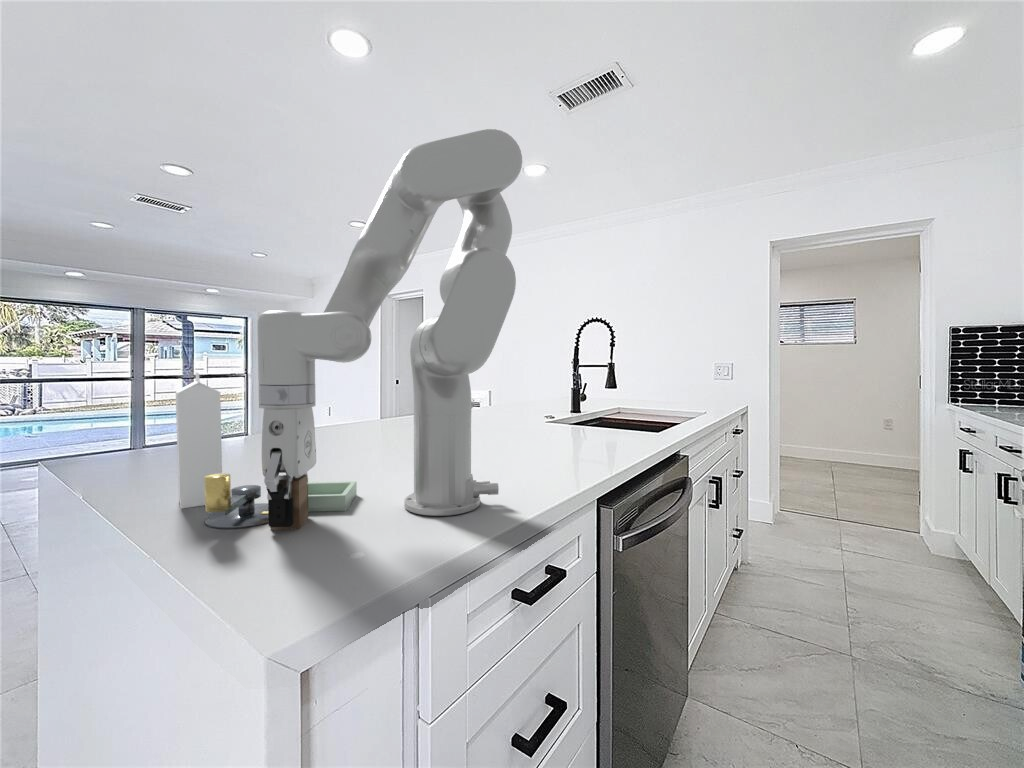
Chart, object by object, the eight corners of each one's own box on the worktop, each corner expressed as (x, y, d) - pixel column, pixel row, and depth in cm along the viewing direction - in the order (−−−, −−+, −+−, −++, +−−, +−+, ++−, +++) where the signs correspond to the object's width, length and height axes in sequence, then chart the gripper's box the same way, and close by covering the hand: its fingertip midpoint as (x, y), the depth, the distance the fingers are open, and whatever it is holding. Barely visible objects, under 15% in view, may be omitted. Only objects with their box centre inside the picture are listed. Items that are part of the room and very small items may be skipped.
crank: (238, 494, 77) (237, 459, 77) (264, 493, 78) (264, 459, 77) (197, 520, 65) (196, 479, 64) (229, 519, 65) (228, 478, 65)
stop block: (307, 520, 74) (307, 474, 74) (299, 529, 70) (298, 481, 70) (280, 520, 74) (279, 475, 73) (270, 530, 70) (269, 481, 69)
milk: (180, 509, 79) (175, 373, 78) (178, 500, 84) (173, 372, 82) (224, 502, 83) (219, 372, 81) (219, 494, 87) (215, 371, 86)
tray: (356, 495, 88) (356, 481, 87) (345, 510, 79) (345, 495, 79) (304, 496, 87) (304, 482, 86) (287, 512, 78) (286, 496, 77)
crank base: (295, 504, 82) (295, 488, 81) (270, 527, 71) (270, 509, 71) (225, 506, 80) (225, 490, 80) (189, 530, 69) (189, 511, 69)
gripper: (295, 402, 63) (297, 539, 64) (329, 392, 80) (330, 500, 81) (233, 402, 62) (236, 541, 63) (281, 392, 79) (283, 502, 80)
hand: (289, 517), depth 72 cm, fingers open, 6 cm apart
